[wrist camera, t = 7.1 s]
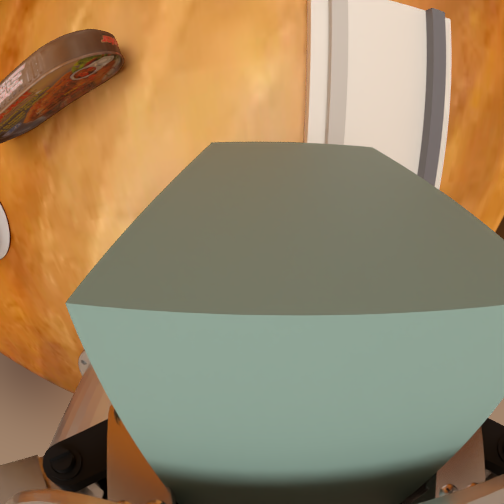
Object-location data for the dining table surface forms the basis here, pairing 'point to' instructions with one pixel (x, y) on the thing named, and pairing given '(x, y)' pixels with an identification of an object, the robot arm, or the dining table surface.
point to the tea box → (298, 326)
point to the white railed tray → (380, 80)
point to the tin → (56, 79)
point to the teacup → (4, 234)
